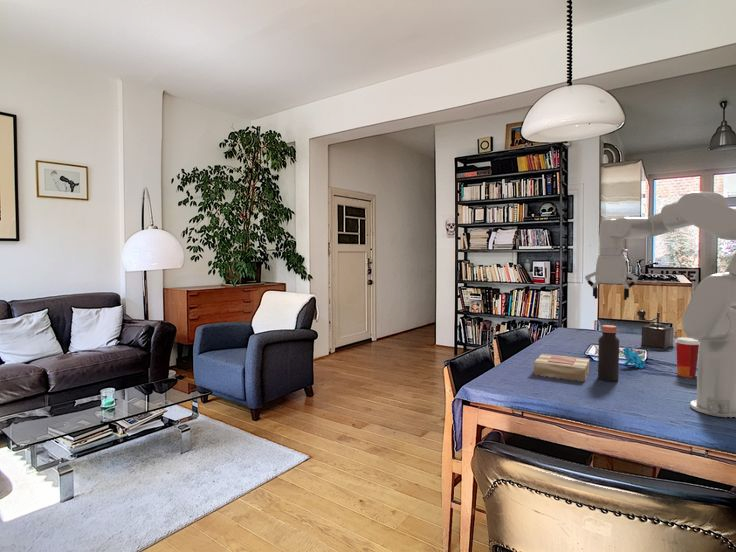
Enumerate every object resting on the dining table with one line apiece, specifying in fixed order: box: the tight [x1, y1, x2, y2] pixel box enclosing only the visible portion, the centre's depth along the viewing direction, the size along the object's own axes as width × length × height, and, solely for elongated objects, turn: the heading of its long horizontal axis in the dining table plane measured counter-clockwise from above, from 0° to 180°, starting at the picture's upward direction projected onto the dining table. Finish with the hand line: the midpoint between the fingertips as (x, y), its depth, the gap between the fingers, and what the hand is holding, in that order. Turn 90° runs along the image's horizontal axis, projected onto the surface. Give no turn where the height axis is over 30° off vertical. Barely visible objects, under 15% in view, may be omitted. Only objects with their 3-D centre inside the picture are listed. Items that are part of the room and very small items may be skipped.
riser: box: [533, 353, 591, 383], centre depth 176 cm, size 16×18×5 cm
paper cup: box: [674, 337, 700, 378], centre depth 171 cm, size 8×8×14 cm
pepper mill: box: [636, 309, 674, 349], centre depth 221 cm, size 16×11×18 cm
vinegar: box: [597, 324, 620, 382], centre depth 167 cm, size 7×7×20 cm
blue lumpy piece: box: [622, 346, 646, 370], centre depth 186 cm, size 11×6×10 cm
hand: (610, 299), depth 167 cm, fingers open, 9 cm apart
